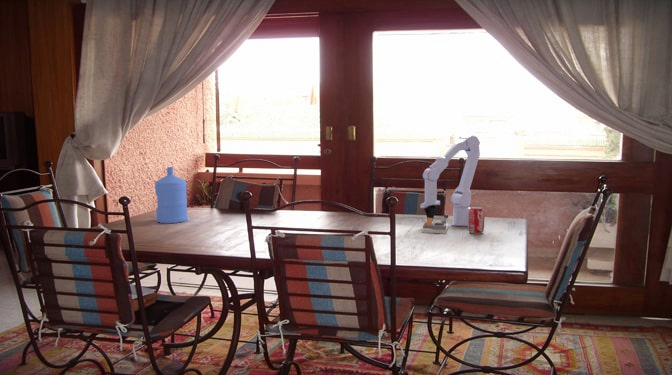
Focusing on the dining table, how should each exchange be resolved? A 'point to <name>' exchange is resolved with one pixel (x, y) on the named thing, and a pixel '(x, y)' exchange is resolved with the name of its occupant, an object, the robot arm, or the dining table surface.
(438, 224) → the button
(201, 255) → the dining table surface
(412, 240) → the dining table surface
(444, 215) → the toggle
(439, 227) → the panel
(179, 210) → the water jug
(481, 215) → the soda can
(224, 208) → the dining table surface
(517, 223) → the dining table surface
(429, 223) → the orange flat-faced block
